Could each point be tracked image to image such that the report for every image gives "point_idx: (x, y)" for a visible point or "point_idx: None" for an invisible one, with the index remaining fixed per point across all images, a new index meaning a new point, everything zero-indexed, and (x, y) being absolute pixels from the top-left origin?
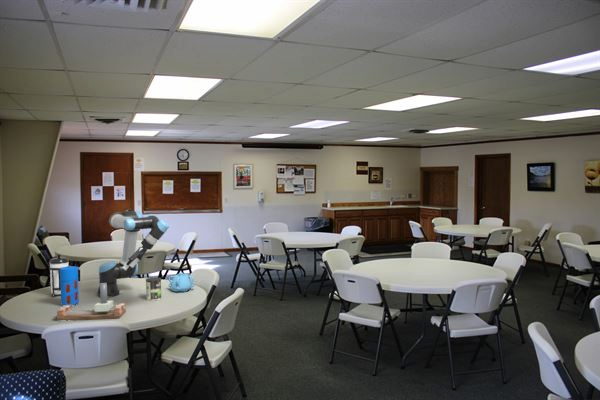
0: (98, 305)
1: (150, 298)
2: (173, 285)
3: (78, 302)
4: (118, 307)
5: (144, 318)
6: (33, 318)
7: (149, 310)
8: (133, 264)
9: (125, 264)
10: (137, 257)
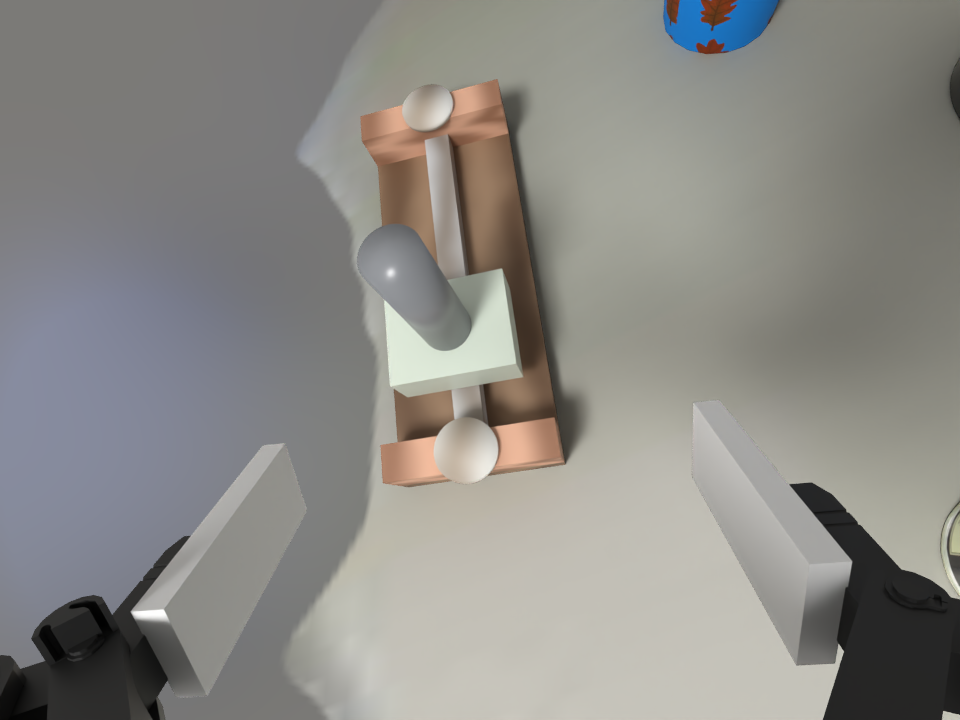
0: (386, 320)
1: (955, 552)
2: None
3: (740, 41)
4: (421, 460)
5: (406, 681)
6: (433, 21)
7: (614, 652)
8: (715, 492)
9: (226, 506)
10: (858, 607)
